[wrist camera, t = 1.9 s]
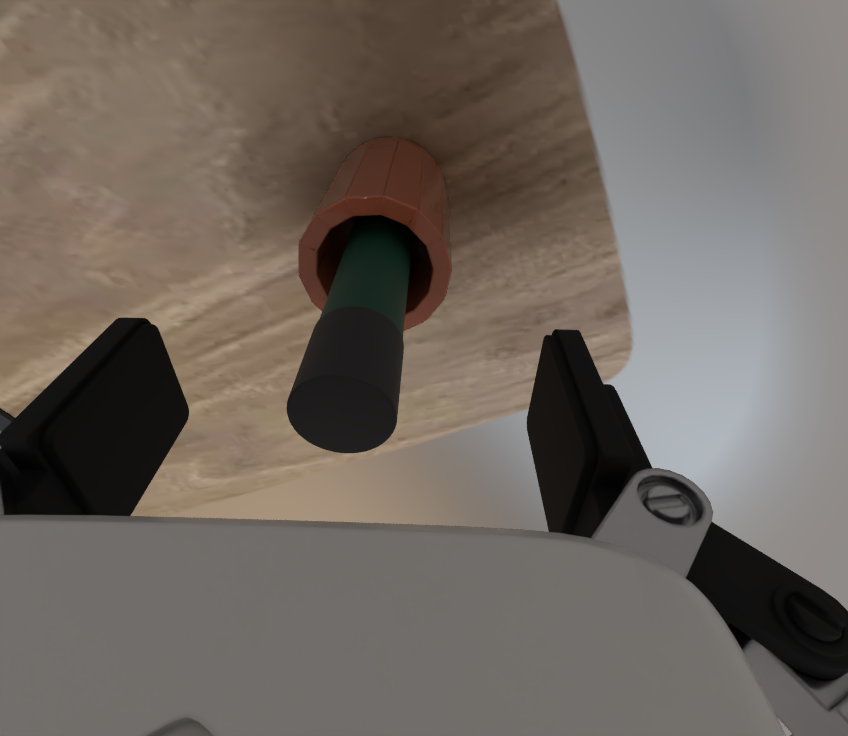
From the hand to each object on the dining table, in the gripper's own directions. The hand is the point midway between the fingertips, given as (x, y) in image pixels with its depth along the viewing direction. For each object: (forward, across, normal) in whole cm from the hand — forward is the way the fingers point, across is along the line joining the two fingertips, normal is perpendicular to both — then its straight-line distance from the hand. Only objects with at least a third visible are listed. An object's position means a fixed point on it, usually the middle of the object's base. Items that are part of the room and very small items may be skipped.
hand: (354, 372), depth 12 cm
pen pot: (+12, 0, -1) cm, 12 cm away
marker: (+11, 0, -1) cm, 11 cm away
